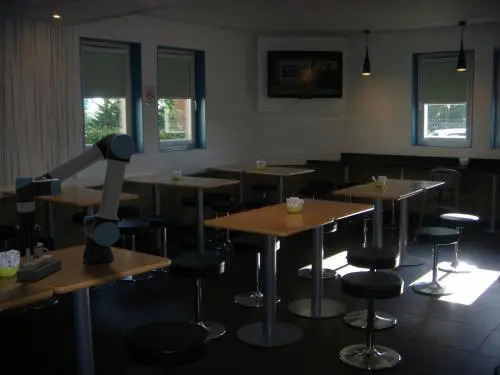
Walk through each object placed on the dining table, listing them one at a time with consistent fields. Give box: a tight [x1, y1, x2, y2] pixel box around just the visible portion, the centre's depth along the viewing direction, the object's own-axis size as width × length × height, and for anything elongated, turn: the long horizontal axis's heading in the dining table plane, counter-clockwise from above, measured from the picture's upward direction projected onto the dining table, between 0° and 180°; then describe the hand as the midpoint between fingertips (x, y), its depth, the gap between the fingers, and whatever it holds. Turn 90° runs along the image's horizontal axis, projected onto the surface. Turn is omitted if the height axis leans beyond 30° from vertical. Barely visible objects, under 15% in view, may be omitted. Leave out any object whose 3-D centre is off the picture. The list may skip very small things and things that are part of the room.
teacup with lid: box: [24, 241, 50, 264], centre depth 317 cm, size 12×9×12 cm
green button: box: [22, 262, 39, 271], centre depth 288 cm, size 5×5×4 cm
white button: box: [40, 254, 55, 263], centre depth 302 cm, size 5×5×4 cm
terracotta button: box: [33, 259, 47, 267], centre depth 295 cm, size 5×5×4 cm
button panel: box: [16, 259, 62, 281], centre depth 295 cm, size 10×22×4 cm, turn 168°
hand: (30, 262), depth 288 cm, fingers closed
